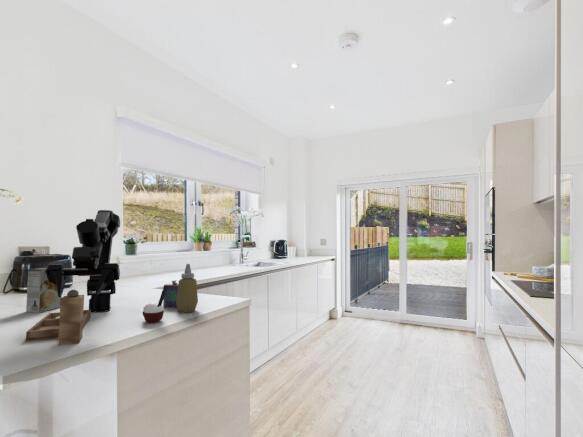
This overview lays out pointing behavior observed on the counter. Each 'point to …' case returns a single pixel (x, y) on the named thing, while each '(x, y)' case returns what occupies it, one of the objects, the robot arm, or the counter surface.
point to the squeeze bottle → (187, 292)
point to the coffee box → (41, 292)
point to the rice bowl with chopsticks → (154, 309)
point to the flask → (171, 295)
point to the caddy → (50, 326)
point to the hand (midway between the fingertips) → (78, 295)
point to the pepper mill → (71, 318)
